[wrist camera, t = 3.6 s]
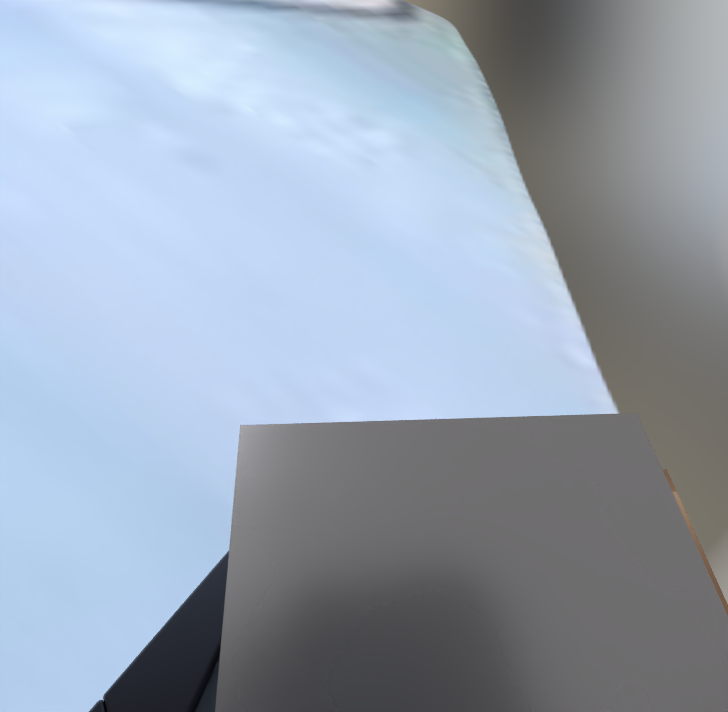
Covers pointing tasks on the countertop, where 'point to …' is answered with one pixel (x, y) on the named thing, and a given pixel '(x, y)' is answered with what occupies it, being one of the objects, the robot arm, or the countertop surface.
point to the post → (465, 572)
